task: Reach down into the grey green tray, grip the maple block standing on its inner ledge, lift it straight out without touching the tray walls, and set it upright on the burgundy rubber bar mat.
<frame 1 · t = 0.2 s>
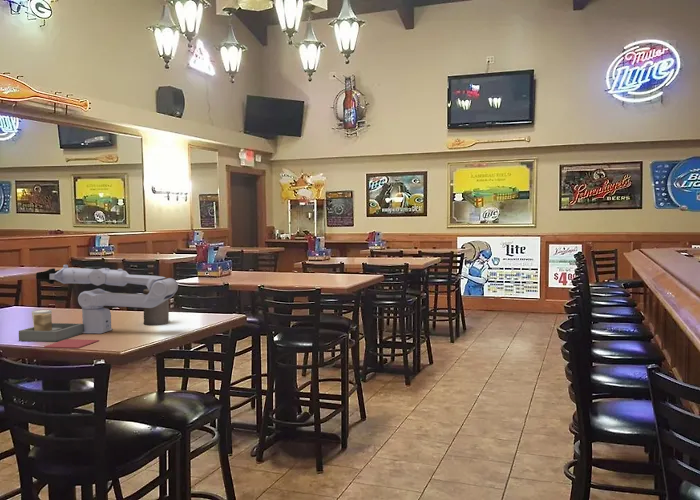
hand: (43, 274, 224), 21 cm above the table, tool horizontal, fingers open, 7 cm apart
grey green tray: (52, 336, 213), on the table
maple block: (43, 331, 213), point 2 cm above the table, touching grey green tray
pillar candle: (156, 323, 240), on the table
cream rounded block: (42, 329, 229), on the table
bar mat: (72, 344, 200), on the table
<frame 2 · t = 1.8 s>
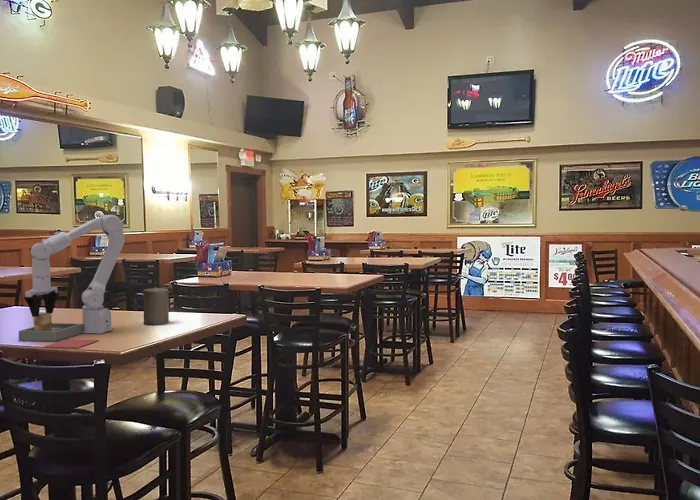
hand: (42, 314, 213), 8 cm above the table, tool pointing down, fingers open, 7 cm apart
nothing on the table moved.
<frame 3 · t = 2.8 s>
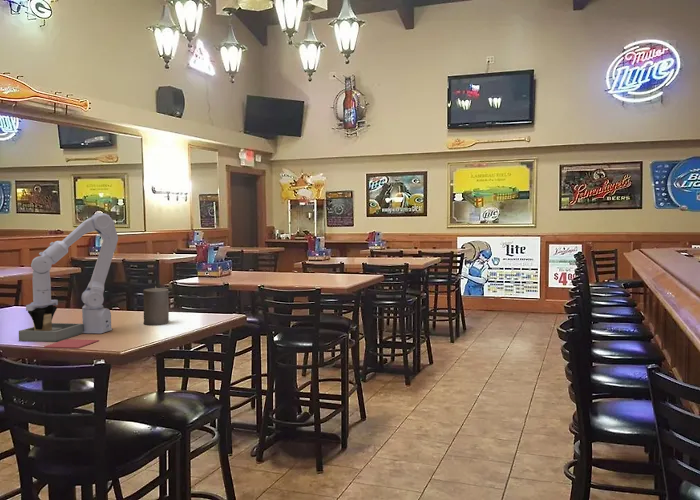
hand: (43, 328, 213), 3 cm above the table, tool pointing down, fingers closed on maple block, 4 cm apart
maple block: (43, 331, 213), point 2 cm above the table, touching grey green tray, gripper
everything else where it was.
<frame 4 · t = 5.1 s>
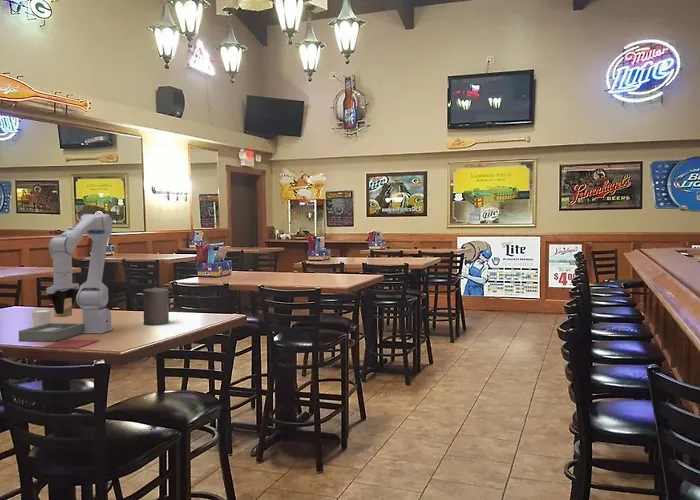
hand: (63, 312, 202), 10 cm above the table, tool pointing down, fingers closed on maple block, 4 cm apart
maple block: (63, 316, 203), point 9 cm above the table, touching gripper
everything else where it was.
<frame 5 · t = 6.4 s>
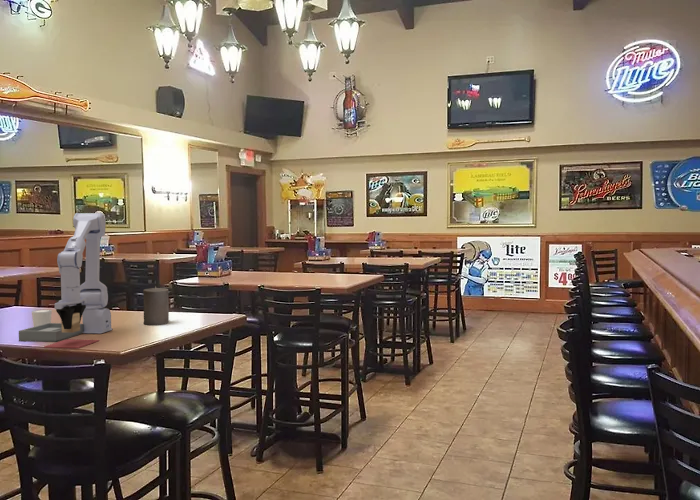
hand: (71, 327, 200), 6 cm above the table, tool pointing down, fingers closed on maple block, 4 cm apart
maple block: (71, 331, 200), point 4 cm above the table, touching gripper
everything else where it was.
when the fingers open (3 cm above the table, at t = 7.3 s): maple block drops 1 cm, resting on bar mat.
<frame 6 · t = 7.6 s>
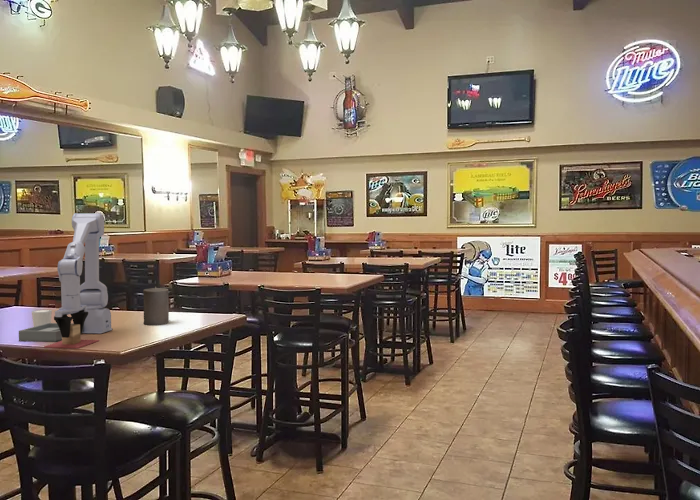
hand: (72, 335, 200), 3 cm above the table, tool pointing down, fingers open, 6 cm apart
maple block: (71, 343, 200), resting on bar mat
everything else where it was.
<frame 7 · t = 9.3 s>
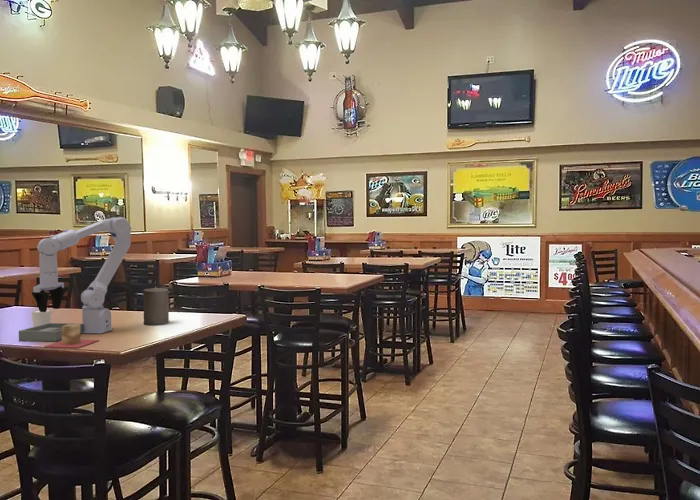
hand: (49, 310, 213), 9 cm above the table, tool pointing down, fingers open, 7 cm apart
nothing on the table moved.
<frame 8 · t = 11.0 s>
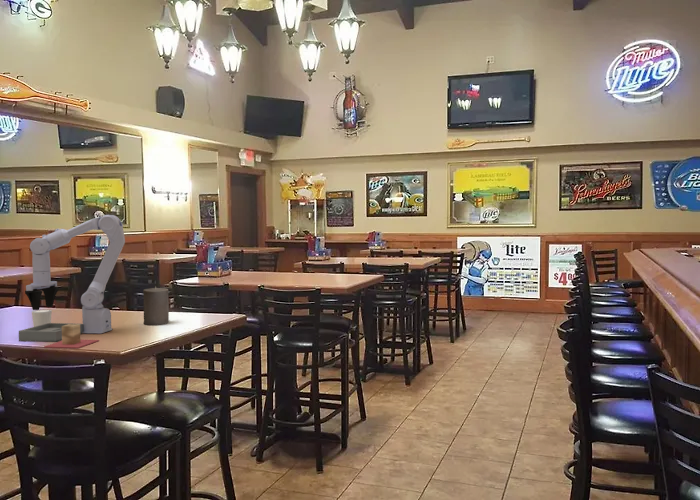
hand: (42, 308, 218), 9 cm above the table, tool pointing down, fingers open, 7 cm apart
nothing on the table moved.
at the end: maple block inside the target area on the bar mat (0.3 cm from its centre), point 0.4 cm above the bar mat's base; maple block tilted 0°; maple block touching bar mat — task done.
